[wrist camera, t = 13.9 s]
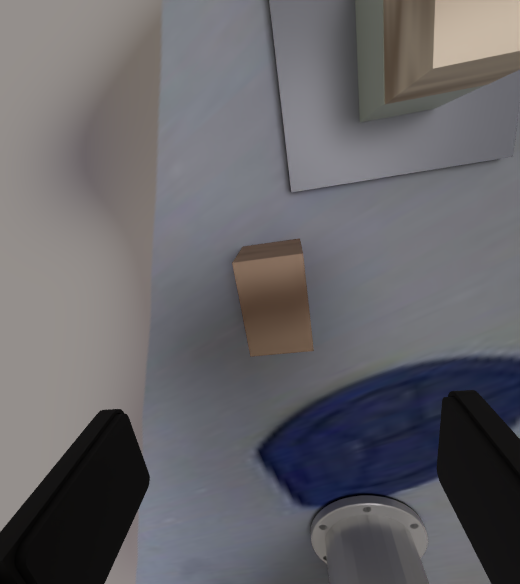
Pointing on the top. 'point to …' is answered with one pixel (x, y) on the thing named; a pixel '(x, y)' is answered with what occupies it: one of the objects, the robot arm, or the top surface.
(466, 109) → the tower base
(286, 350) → the walnut brick
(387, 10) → the maple brick
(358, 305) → the top surface
